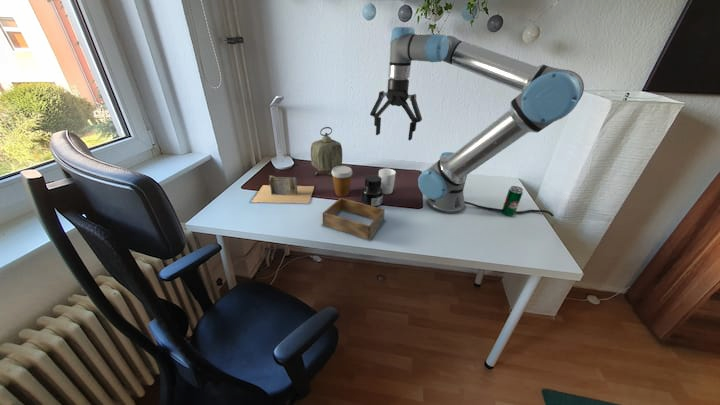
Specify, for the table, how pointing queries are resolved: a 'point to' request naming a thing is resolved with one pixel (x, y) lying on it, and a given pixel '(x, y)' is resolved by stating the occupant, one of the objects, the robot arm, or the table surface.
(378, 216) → the wooden box
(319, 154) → the tabletop clock
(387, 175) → the white cup
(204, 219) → the table surface
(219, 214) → the table surface
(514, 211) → the soda can
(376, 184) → the ink bottle
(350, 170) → the disposable coffee cup
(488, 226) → the table surface
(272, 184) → the architectural model on board
